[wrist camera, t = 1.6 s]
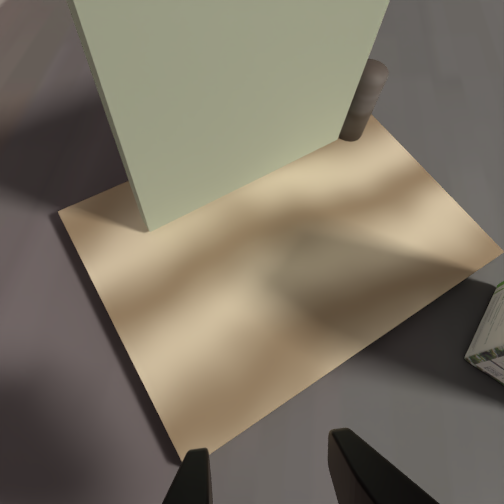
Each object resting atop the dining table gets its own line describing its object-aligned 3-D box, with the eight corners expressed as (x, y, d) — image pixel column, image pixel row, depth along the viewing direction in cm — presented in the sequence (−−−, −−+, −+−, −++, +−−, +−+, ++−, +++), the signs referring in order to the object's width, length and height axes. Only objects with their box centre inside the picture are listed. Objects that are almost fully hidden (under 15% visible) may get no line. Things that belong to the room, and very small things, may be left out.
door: (337, 139, 27) (436, -125, 15) (149, 232, 23) (65, -25, 11) (314, 114, 28) (390, -155, 16) (130, 199, 24) (30, -73, 11)
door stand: (494, 258, 26) (566, 208, 20) (187, 469, 19) (175, 477, 14) (341, 97, 31) (366, 24, 26) (63, 220, 25) (19, 156, 19)
